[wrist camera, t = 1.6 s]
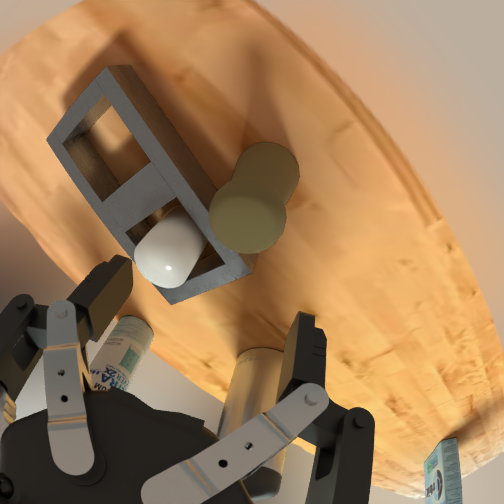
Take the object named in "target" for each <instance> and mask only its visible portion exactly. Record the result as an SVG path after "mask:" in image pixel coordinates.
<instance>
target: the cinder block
mask: <svg viewBox="0 0 504 504" xmlns="http://www.w3.org/2000/svg"><path fill="white" fill-rule="evenodd" d="M111 105H112V106H113V107H114V109H115V110H116V112H117V113H118V115H119V116H120V117H121V119H122V120H123V122H124V123H125V125H126V126H127V128H128V129H129V131H130V132H131V133H132V135H133V136H134V138H135V139H136V141H137V142H138V143H139V145H140V146H141V148H142V149H143V151H144V152H145V153H146V155H147V156H148V158H149V159H150V161H151V162H150V163H149V164H147V165H146V166H145V167H144V168H142V169H141V170H140V171H139V172H137V173H136V174H135V175H134V176H133V177H131V178H130V179H129V180H128V181H127V182H125V183H124V184H123V185H122V186H121V185H120V184H119V183H118V181H117V180H116V178H115V177H114V176H113V174H112V173H111V171H110V170H109V169H108V167H107V166H106V164H105V163H104V161H103V160H102V159H101V157H100V156H99V154H98V153H97V151H96V150H95V148H94V147H93V145H92V144H91V142H90V141H89V140H88V138H87V137H86V135H85V133H86V132H87V131H88V130H89V129H90V127H91V126H92V125H93V124H94V123H95V122H96V121H97V120H98V119H99V118H100V117H101V116H102V115H103V114H104V112H105V111H106V110H107V109H108V108H109V107H110V106H111ZM46 141H47V142H48V144H49V145H50V147H51V149H52V150H53V152H54V153H55V155H56V156H57V158H58V159H59V161H60V162H61V164H62V165H63V167H64V168H65V170H66V171H67V173H68V174H69V176H70V177H71V179H72V180H73V182H74V183H75V185H76V186H77V187H78V189H79V190H80V192H81V193H82V194H83V196H84V197H85V199H86V200H87V201H88V203H89V204H90V206H91V207H92V208H93V210H94V211H95V212H96V214H97V215H98V216H99V218H100V219H101V220H102V222H103V223H104V224H105V226H106V227H107V228H108V230H109V231H110V232H111V234H112V235H113V236H114V237H115V239H116V240H117V241H118V243H119V244H120V245H121V246H122V248H123V249H124V250H125V251H126V253H127V254H128V255H129V256H130V258H131V259H132V260H133V261H134V262H135V259H134V252H135V248H136V246H137V245H138V244H139V243H140V241H141V240H142V239H143V238H144V237H145V236H146V235H147V234H148V233H149V231H150V230H151V229H152V227H151V226H150V225H149V223H148V222H147V221H146V219H145V218H146V217H147V216H149V215H150V214H152V213H153V212H155V211H156V210H158V209H159V208H161V207H162V206H164V205H165V204H167V203H168V202H170V201H171V200H173V199H174V198H176V197H177V198H178V200H179V201H180V202H181V204H182V205H183V207H184V208H185V209H186V211H187V212H188V213H189V215H190V216H191V217H192V219H193V220H194V222H195V223H196V224H197V226H198V227H199V228H200V230H201V231H202V232H203V234H204V235H205V237H206V238H207V239H208V241H209V242H210V243H211V245H212V246H213V247H214V249H215V250H216V251H217V252H215V253H213V254H211V255H209V256H206V257H204V258H202V259H200V260H198V261H197V262H196V264H195V265H194V267H193V269H192V270H191V272H190V274H189V276H188V277H187V279H186V281H185V282H184V283H183V284H182V285H180V286H179V287H176V288H164V287H160V286H157V285H155V284H153V283H152V282H151V283H152V284H153V285H154V286H155V287H156V289H157V290H158V291H159V292H160V293H161V294H162V296H163V297H164V298H165V299H166V300H167V301H168V302H169V303H170V305H173V304H176V303H178V302H181V301H183V300H186V299H188V298H191V297H193V296H196V295H199V294H201V293H204V292H206V291H209V290H211V289H214V288H216V287H219V286H221V285H224V284H226V283H229V282H231V281H234V280H236V279H239V278H241V277H244V276H246V275H249V274H251V273H252V272H253V268H254V265H255V262H256V259H257V256H258V253H259V252H258V253H253V254H243V253H239V252H235V251H232V250H230V249H229V248H227V247H225V246H224V245H223V244H222V243H221V242H220V241H219V240H218V239H217V238H216V236H215V235H214V233H213V231H212V230H211V227H210V223H209V218H208V217H209V208H210V203H211V201H212V199H213V197H214V195H215V194H216V192H217V191H218V190H217V189H216V188H215V186H214V185H213V183H212V182H211V180H210V179H209V177H208V176H207V175H206V173H205V172H204V170H203V169H202V167H201V166H200V164H199V163H198V162H197V160H196V159H195V157H194V156H193V154H192V153H191V152H190V150H189V149H188V147H187V146H186V144H185V143H184V141H183V140H182V139H181V137H180V136H179V134H178V133H177V131H176V130H175V129H174V127H173V126H172V124H171V123H170V121H169V120H168V118H167V117H166V116H165V114H164V113H163V111H162V110H161V108H160V107H159V106H158V104H157V103H156V101H155V100H154V98H153V97H152V96H151V94H150V93H149V91H148V90H147V88H146V87H145V86H144V84H143V83H142V81H141V80H140V78H139V77H138V76H137V74H136V73H135V71H134V70H133V69H132V67H131V66H130V65H117V66H106V67H105V68H104V69H103V70H102V71H101V72H100V74H99V75H98V76H97V77H96V78H95V79H94V80H93V81H92V82H91V83H90V85H89V86H88V87H87V88H86V89H85V90H84V91H83V93H82V94H81V95H80V96H79V97H78V99H77V100H76V101H75V102H74V103H73V105H72V106H71V107H70V108H69V110H68V111H67V112H66V113H65V115H64V116H63V117H62V119H61V120H60V121H59V123H58V124H57V125H56V127H55V128H54V129H53V131H52V132H51V133H50V135H49V136H48V138H47V139H46ZM135 264H136V263H135Z"/></svg>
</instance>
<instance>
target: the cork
mask: <svg viewBox="0 0 504 504" xmlns="http://www.w3.org/2000/svg"><path fill="white" fill-rule="evenodd" d="M299 177H300V174H299V166H298V163H297V161H296V159H295V157H294V156H293V155H292V154H291V153H290V151H289V150H288V149H286V148H284V147H283V146H281V145H279V144H275V143H271V142H262V143H257V144H254V145H252V146H250V147H248V148H247V149H246V150H245V151H244V152H243V153H242V154H241V156H240V158H239V159H238V161H237V164H236V167H235V170H234V173H233V175H232V178H231V181H230V182H228V183H226V184H225V185H224V186H222V187H221V188H220V189H219V190H218V191H217V192H216V194H215V195H214V197H213V199H212V201H211V203H210V208H209V217H208V218H209V223H210V227H211V230H212V231H213V233H214V235H215V236H216V238H217V239H218V240H219V241H220V242H221V243H222V244H223V245H224V246H225V247H227V248H229V249H230V250H232V251H235V252H239V253H243V254H253V253H258V252H261V251H264V250H267V249H268V248H269V247H271V246H272V245H274V244H275V243H276V242H277V240H278V239H279V237H280V236H281V235H282V233H283V231H284V227H285V223H286V208H285V205H286V203H287V202H288V200H289V198H290V197H291V195H292V193H293V192H294V190H295V188H296V186H297V185H298V181H299Z"/></svg>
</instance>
